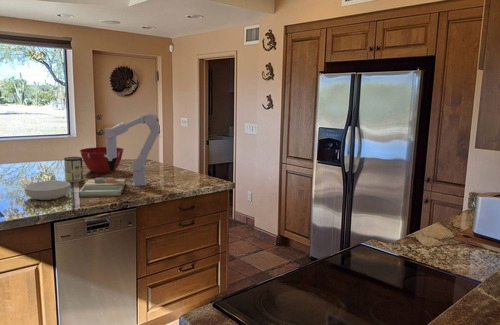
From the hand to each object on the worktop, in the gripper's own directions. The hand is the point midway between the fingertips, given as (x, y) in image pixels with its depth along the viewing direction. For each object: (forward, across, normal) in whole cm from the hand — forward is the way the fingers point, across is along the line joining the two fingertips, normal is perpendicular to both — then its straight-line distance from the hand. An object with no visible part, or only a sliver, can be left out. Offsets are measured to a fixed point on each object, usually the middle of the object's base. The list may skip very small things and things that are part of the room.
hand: (112, 170), depth 233 cm
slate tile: (+5, +8, -6) cm, 11 cm away
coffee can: (+8, -12, -24) cm, 28 cm away
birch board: (+8, +8, -3) cm, 11 cm away
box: (+8, +22, -3) cm, 24 cm away
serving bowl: (+8, +30, -28) cm, 42 cm away
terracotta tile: (+5, +8, 0) cm, 9 cm away
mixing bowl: (+8, -38, -11) cm, 41 cm away
